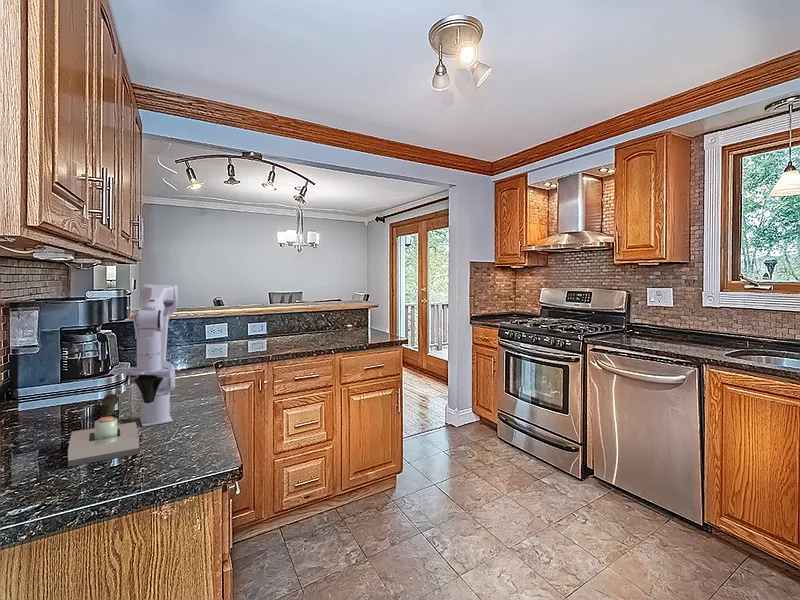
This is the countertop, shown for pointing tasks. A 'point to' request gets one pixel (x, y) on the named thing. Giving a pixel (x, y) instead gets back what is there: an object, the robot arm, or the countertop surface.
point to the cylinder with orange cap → (105, 428)
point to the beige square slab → (102, 445)
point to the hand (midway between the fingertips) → (149, 402)
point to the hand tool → (108, 404)
